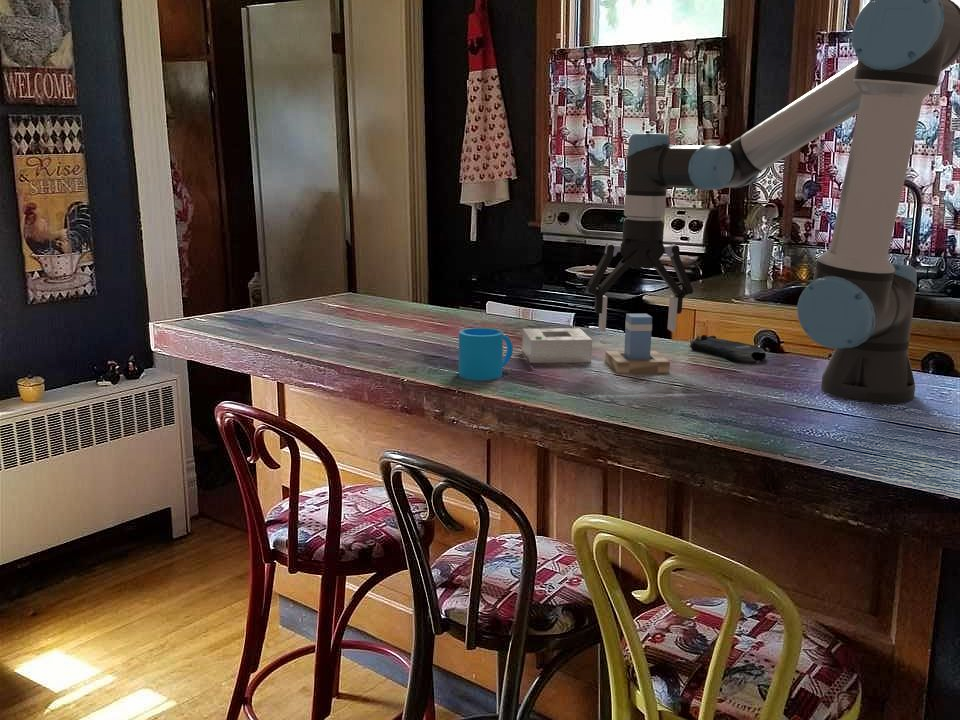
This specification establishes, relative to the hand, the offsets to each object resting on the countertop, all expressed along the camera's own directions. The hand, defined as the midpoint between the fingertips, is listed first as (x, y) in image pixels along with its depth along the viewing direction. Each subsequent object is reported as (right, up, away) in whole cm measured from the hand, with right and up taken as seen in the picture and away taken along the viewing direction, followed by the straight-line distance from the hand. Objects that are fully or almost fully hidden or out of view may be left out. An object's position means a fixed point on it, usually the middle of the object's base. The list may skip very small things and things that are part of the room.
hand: (636, 330), depth 175 cm
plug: (0, -7, +1) cm, 7 cm away
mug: (-29, -8, -3) cm, 30 cm away
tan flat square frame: (0, -7, +1) cm, 8 cm away
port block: (-15, -5, +10) cm, 19 cm away
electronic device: (+22, -5, +14) cm, 27 cm away
